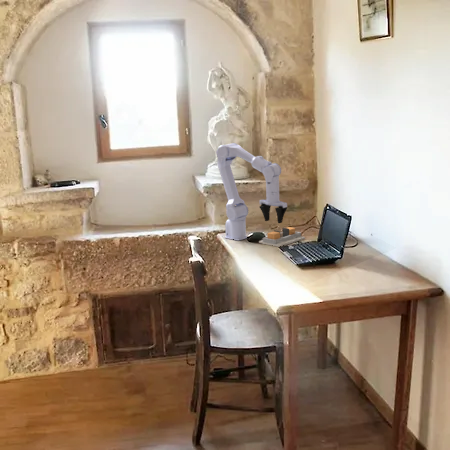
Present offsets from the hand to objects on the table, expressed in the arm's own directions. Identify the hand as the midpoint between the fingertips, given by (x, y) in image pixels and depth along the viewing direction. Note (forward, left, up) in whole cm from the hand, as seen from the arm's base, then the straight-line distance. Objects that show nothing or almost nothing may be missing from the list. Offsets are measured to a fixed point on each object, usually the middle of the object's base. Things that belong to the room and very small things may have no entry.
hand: (273, 221), depth 265 cm
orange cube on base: (0, 0, -9) cm, 9 cm away
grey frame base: (0, +6, -10) cm, 11 cm away
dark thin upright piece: (+14, +19, -10) cm, 26 cm away
